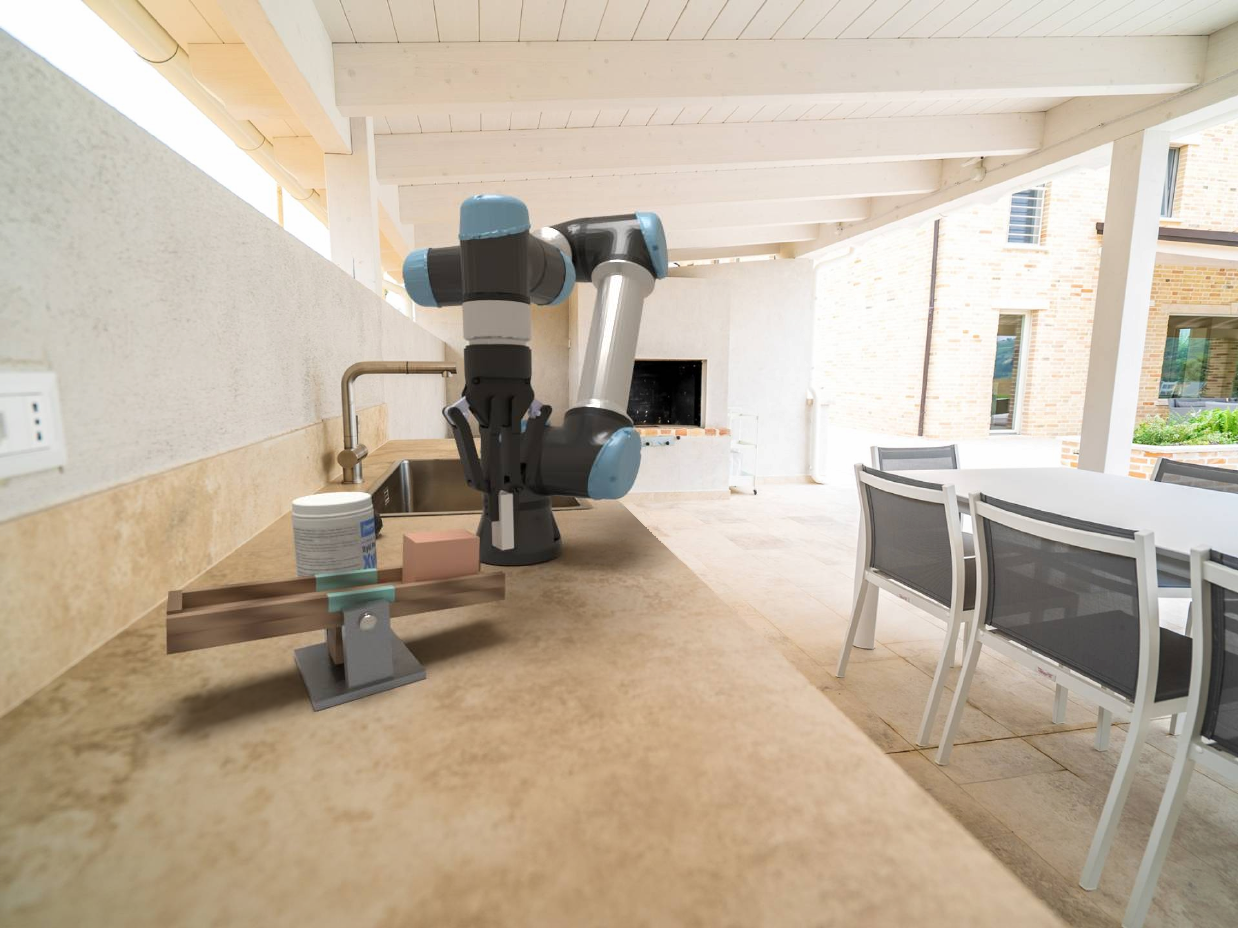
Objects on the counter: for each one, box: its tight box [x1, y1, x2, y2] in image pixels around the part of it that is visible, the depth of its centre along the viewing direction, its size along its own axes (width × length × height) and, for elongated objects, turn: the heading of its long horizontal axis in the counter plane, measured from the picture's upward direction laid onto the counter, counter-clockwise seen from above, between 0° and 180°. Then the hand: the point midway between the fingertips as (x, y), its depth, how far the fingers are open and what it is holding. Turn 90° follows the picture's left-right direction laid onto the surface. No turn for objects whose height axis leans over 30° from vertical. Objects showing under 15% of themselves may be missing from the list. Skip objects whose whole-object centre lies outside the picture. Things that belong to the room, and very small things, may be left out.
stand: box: [293, 598, 427, 712], centre depth 60 cm, size 10×13×8 cm
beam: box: [165, 558, 506, 665], centre depth 59 cm, size 30×8×8 cm, turn 126°
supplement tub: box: [291, 491, 378, 577], centre depth 76 cm, size 10×10×15 cm
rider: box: [402, 528, 480, 584], centre depth 64 cm, size 7×4×6 cm, turn 126°
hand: (503, 546), depth 69 cm, fingers closed
